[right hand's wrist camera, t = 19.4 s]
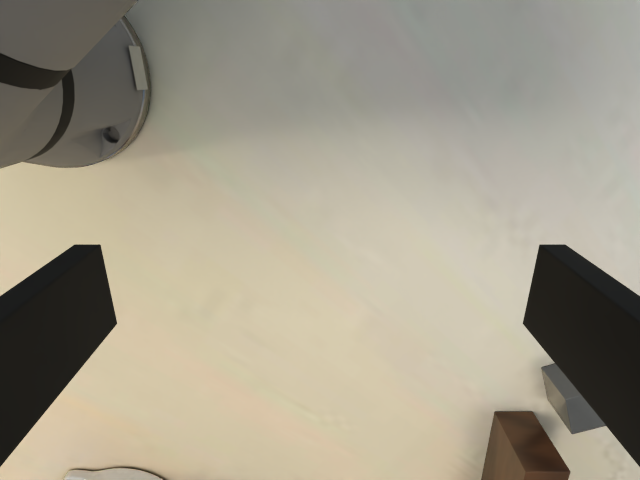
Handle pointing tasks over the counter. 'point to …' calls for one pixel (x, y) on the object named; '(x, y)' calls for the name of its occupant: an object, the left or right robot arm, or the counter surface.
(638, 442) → the right robot arm
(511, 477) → the walnut plank
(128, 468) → the left robot arm
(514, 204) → the counter surface
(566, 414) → the slate block
